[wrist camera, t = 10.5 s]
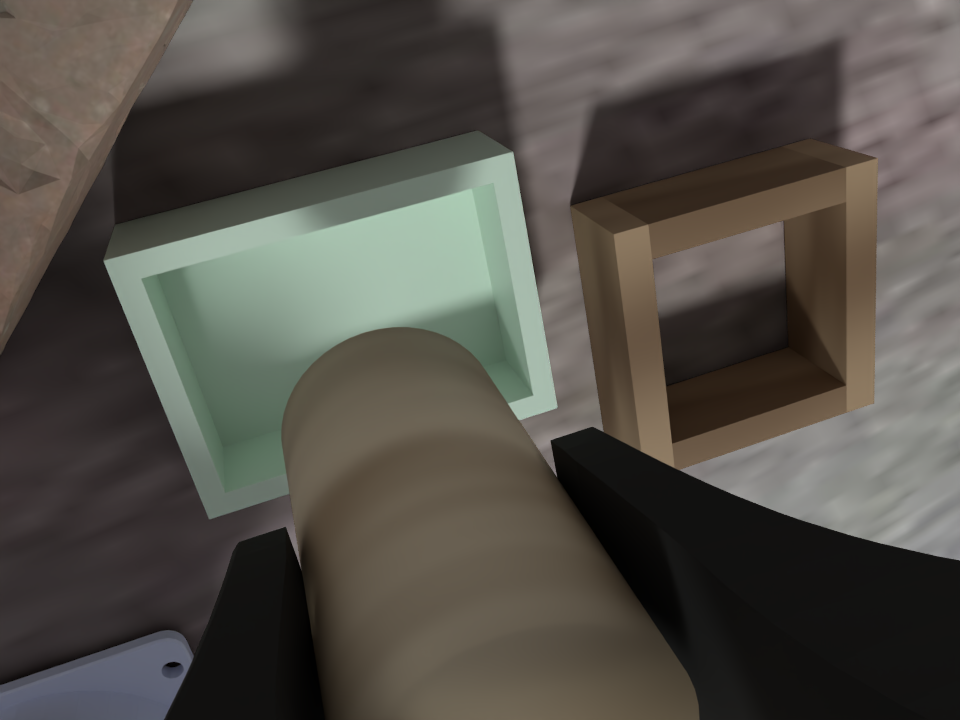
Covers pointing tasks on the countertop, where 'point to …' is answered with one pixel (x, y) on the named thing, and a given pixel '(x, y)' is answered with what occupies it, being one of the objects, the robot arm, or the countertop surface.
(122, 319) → the countertop surface
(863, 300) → the socket block
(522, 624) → the dowel
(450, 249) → the tray
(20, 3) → the brick
